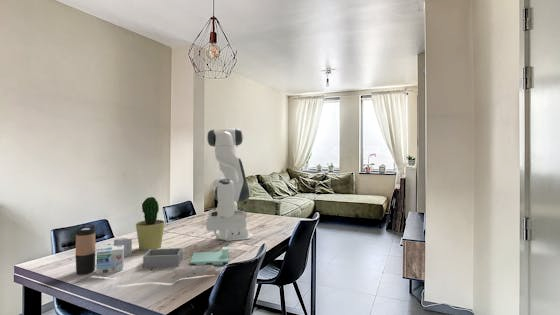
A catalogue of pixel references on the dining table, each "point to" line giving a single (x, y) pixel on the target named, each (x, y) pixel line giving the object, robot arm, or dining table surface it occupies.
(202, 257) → the lid
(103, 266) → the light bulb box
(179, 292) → the dining table surface
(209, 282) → the dining table surface
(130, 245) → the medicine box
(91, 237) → the travel mug
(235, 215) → the robot arm
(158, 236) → the potted cactus
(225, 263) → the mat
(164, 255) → the tub
